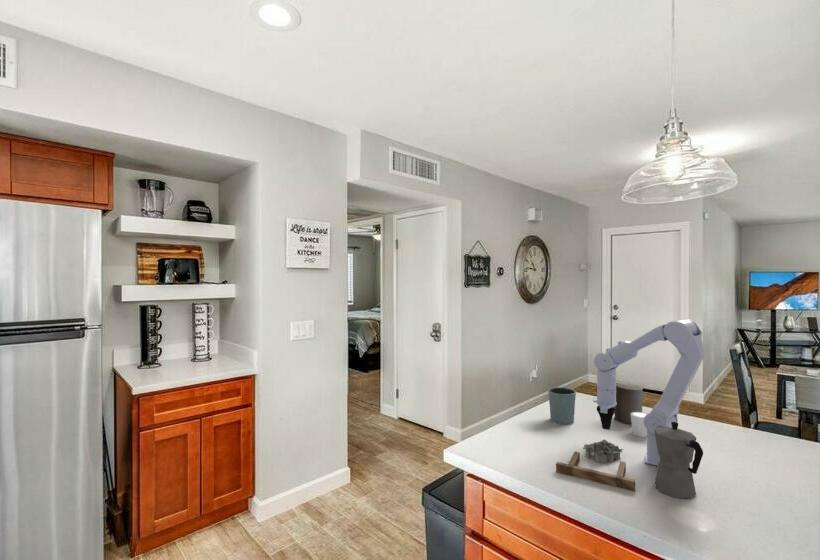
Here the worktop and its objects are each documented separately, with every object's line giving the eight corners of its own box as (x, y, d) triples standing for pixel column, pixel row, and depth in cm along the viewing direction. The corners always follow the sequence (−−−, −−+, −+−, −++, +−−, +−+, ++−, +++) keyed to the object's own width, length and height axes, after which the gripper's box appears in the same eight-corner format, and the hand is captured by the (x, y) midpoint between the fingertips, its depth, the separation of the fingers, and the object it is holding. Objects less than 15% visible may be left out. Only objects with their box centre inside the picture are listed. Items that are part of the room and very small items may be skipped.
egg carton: (600, 465, 122) (600, 452, 122) (580, 455, 129) (580, 442, 129) (625, 459, 126) (625, 445, 126) (604, 449, 133) (604, 437, 133)
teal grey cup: (578, 419, 161) (578, 389, 161) (573, 427, 152) (573, 395, 152) (551, 415, 166) (551, 385, 166) (545, 422, 158) (545, 391, 157)
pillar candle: (611, 421, 158) (612, 383, 158) (616, 414, 166) (617, 378, 166) (640, 427, 153) (640, 387, 152) (644, 419, 160) (644, 382, 160)
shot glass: (656, 438, 142) (656, 418, 142) (636, 437, 142) (636, 417, 142) (645, 430, 149) (645, 411, 149) (626, 430, 149) (626, 411, 149)
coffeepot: (641, 478, 114) (641, 414, 113) (672, 476, 115) (672, 413, 114) (683, 510, 98) (683, 435, 98) (719, 507, 99) (719, 434, 99)
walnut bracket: (637, 473, 117) (637, 464, 117) (635, 491, 107) (635, 482, 107) (564, 457, 127) (564, 449, 127) (556, 472, 117) (555, 463, 117)
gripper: (596, 381, 145) (596, 419, 145) (590, 391, 133) (589, 433, 133) (618, 384, 141) (618, 423, 141) (614, 395, 129) (614, 437, 129)
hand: (606, 428), depth 137 cm, fingers closed
